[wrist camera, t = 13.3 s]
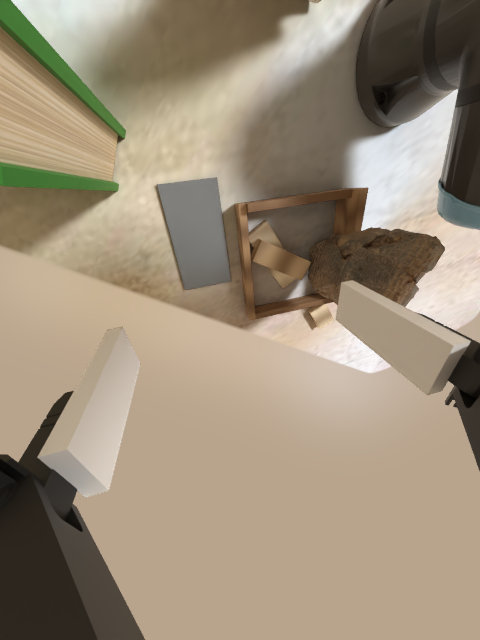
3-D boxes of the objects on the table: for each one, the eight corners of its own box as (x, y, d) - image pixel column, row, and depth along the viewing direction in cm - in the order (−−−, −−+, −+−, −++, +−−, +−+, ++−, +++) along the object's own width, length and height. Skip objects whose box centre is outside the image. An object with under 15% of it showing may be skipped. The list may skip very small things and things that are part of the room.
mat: (157, 184, 32) (156, 184, 32) (216, 177, 33) (216, 177, 33) (185, 289, 41) (185, 290, 41) (230, 280, 42) (231, 281, 42)
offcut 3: (306, 309, 51) (310, 313, 49) (321, 299, 50) (325, 302, 49) (316, 325, 54) (319, 329, 52) (329, 316, 53) (333, 319, 52)
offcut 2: (249, 258, 39) (252, 261, 38) (258, 238, 38) (261, 240, 36) (296, 277, 44) (301, 280, 42) (306, 259, 42) (311, 262, 41)
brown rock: (306, 286, 47) (387, 339, 31) (289, 282, 45) (366, 337, 29) (337, 218, 41) (456, 242, 25) (319, 210, 39) (437, 231, 23)
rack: (234, 203, 36) (243, 205, 31) (343, 188, 38) (368, 187, 33) (246, 313, 47) (254, 327, 42) (330, 295, 50) (347, 306, 45)
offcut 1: (244, 236, 39) (247, 238, 38) (263, 219, 39) (267, 220, 37) (279, 285, 46) (283, 289, 44) (296, 272, 45) (300, 275, 44)
